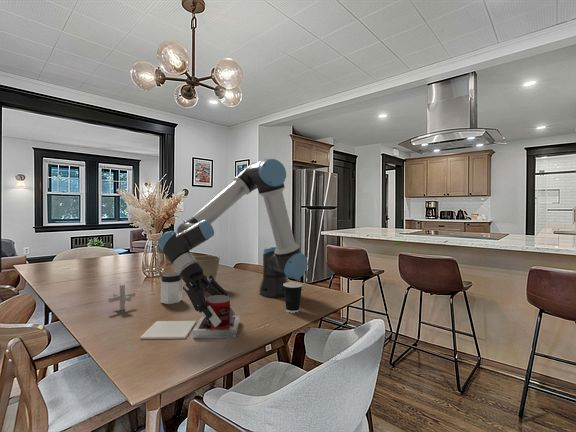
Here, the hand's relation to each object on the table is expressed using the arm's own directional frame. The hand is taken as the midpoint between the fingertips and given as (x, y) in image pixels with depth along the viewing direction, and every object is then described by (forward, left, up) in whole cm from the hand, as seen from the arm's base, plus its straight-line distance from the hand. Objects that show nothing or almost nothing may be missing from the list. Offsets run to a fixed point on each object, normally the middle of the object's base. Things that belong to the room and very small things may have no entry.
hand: (226, 319), depth 103 cm
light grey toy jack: (+45, -23, -4) cm, 51 cm away
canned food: (+3, -1, -4) cm, 5 cm away
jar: (+29, -34, -4) cm, 45 cm away
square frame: (+3, -1, -4) cm, 5 cm away
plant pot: (+19, -56, -4) cm, 60 cm away
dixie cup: (-24, -20, -4) cm, 32 cm away
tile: (+19, -1, -4) cm, 19 cm away
